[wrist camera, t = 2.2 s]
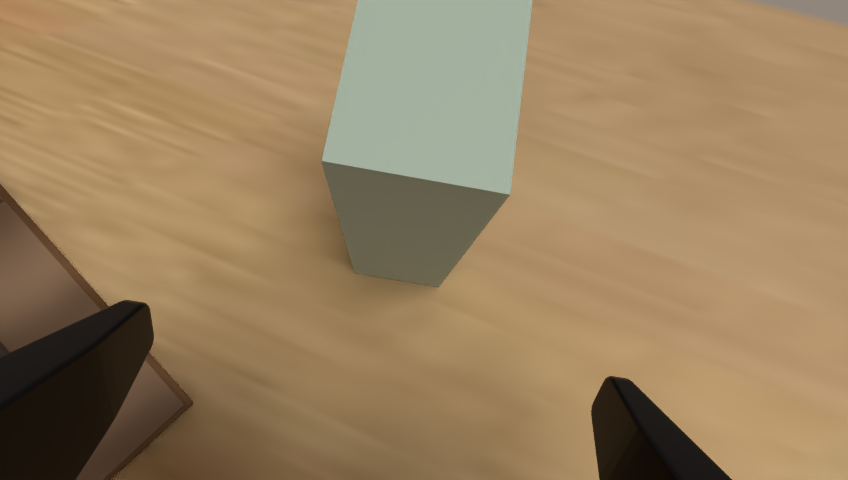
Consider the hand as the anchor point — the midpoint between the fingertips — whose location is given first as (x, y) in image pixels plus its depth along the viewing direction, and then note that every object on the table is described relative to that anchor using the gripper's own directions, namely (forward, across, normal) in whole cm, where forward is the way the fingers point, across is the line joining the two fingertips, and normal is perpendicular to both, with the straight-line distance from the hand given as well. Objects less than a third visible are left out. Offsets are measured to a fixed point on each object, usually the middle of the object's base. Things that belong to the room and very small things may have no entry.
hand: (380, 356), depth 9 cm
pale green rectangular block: (+14, 0, +4) cm, 14 cm away
